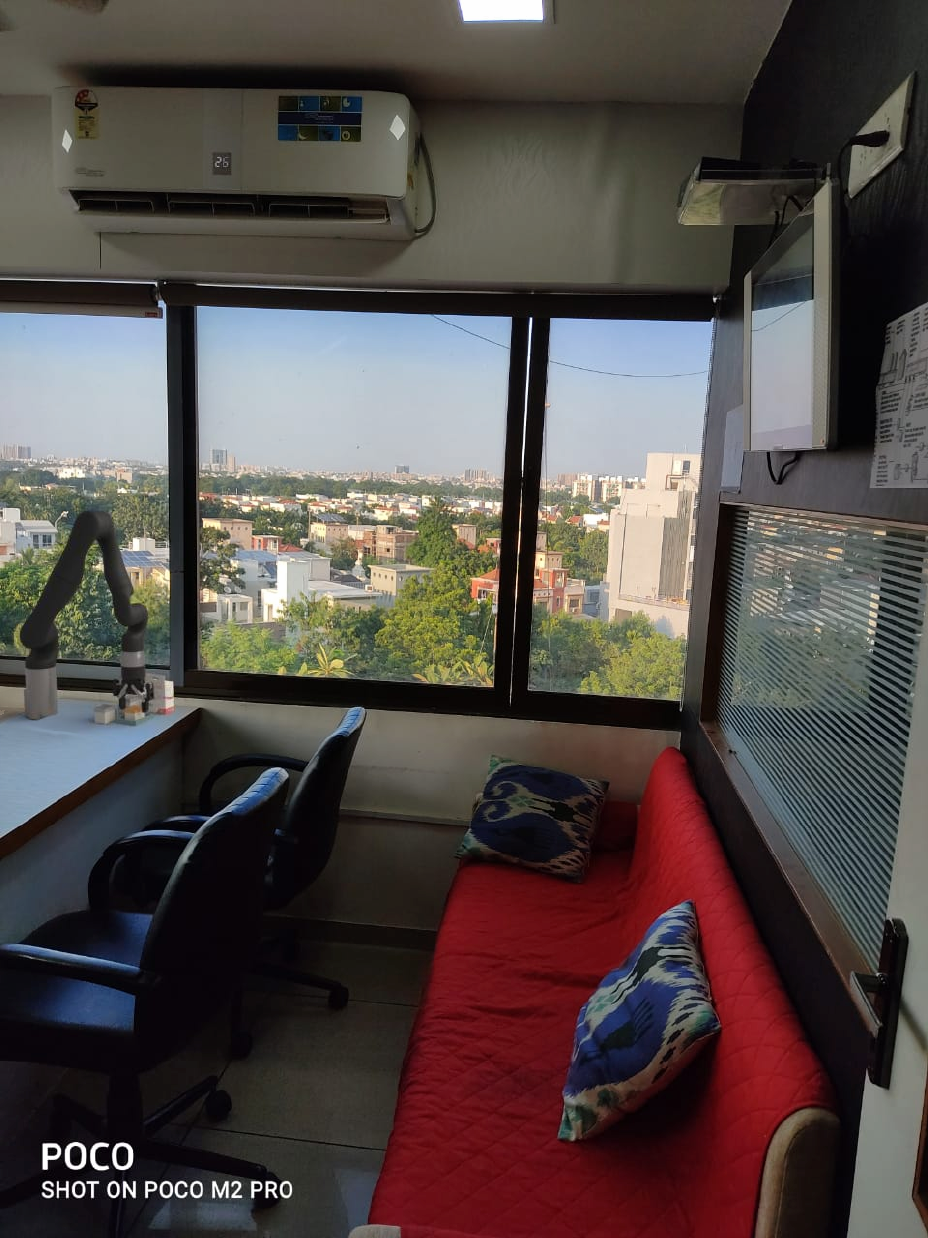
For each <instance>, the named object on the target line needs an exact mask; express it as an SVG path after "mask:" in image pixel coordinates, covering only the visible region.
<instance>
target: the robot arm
mask: <svg viewBox="0 0 928 1238" xmlns="http://www.w3.org/2000/svg"><path fill="white" fill-rule="evenodd" d="M95 540H96V542H97V544H98V546H99V548H100V550H101V554H102V555H101V556H102V559H103V560H102V561H103V562H102V563H103V574H104V578H105V582H106V584H107V587H108V589H109V591H110V594H111V597H112V605H113V613H114V617H115V619H116V621H117V622H118V624H119V625H121V626H122V627H125V628H127V630H126V631H125V632H124V633H123V634H122V635H121V637H120V638H121V639H120V640H121V641H120V650H121V652H120V676H121V677H117V678H114V679H113V681H112V683H113V684H112V696H113V697H117V699H118V704H119V708H120V709H121V710H123V709H125V708H126V698H124V697H125V696H127V695H128V694H131V695H136V696H138V697H140V701H141V706H142V713H148V712H147V711H148V710H149V701H150V700H153V699H154V686H153V682H149V683H146V682H145V676H146V654H145V639H144V638H145V634H146V630H147V626H148V623H149V622H148V620H149V614H148V613H149V612H148V609H147V607H146V606H145V605H144V604H143V603H139V602H134V603H131V596H133V595H134V593H135V589H134V587H133V584H132V582H131V578H130V576H129V574H128V571H127V569H126V566H125V563H124V560H123V556H122V552H121V549H120V545H119V541H118V536H117V531H116V527H115V523H114V520H113V518H112V516H111V515H110V514H109V513H108V512H106V511H104V510H94V509H93V510H90V509H89V510H84V511H81V513H79V514H78V515H77V517H76V518H75V521H74V522H73V525H72V528H71V531H70V534H69V537H68V539H67V541H66V544H65V546H64V548H63V549H62V551H61V554H60V556H59V558H58V561H57V562H56V564H55V566H54V567H53V569H52V571H51V573H50V575H49V577H48V579H47V581H46V584H45V585H44V588H43V589H42V591H41V593H40V596H39V598H38V600H37V602H36V604H35V606H34V608H33V610H32V611H31V612H30V614H29V615H28V617H27V619H26V620H25V621H24V623H23V624H22V626H21V627H20V630H19V640H20V643H21V645H22V646H23V647H24V648H26V649H29V650H30V651H29V653H28V655H27V657H26V658H25V660H24V666H25V668H24V669H25V688H24V689H23V699H24V700H23V701H24V702H23V703H24V716H25V717H27V718H28V719H29V720H38V721H39V720H43V719H45V718H48V717H52V716H56V715H58V713H59V710H58V709H59V706H58V702H59V701H58V683H57V682H58V681H57V676H58V675H57V659H58V655H59V632H58V631H59V630H58V628H57V625H56V623H55V622H54V621H55V619H56V618H57V616H58V615H59V614H60V613H61V611H62V610H63V609H64V608H65V606H67V605H68V604H69V602H70V601H71V600H72V599H73V598H74V596H75V594H76V593H77V591H78V590H79V587H80V586H81V583H82V581H83V579H84V577H85V570H86V569H85V568H86V558H87V554H88V552H89V549H90V548H91V546H92V544H93V543H94V541H95ZM145 689H146V690H145Z"/></svg>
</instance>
